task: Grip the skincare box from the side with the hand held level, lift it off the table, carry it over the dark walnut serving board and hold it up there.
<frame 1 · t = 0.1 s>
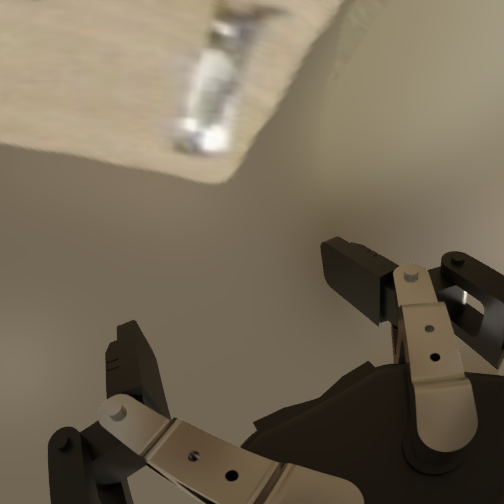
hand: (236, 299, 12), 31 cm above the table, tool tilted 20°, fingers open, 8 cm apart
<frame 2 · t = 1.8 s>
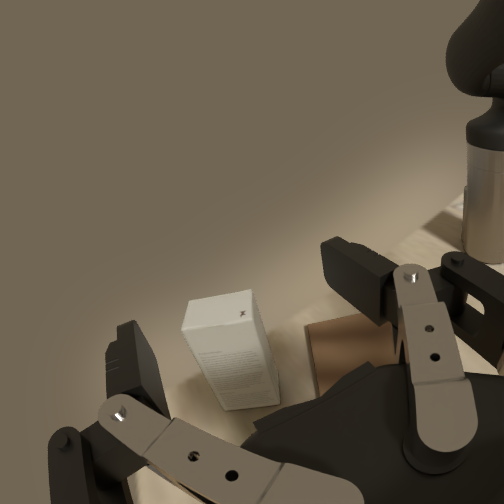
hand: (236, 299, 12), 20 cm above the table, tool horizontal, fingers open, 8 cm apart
walnut board: (375, 377, 29), on the table
skincare box: (251, 394, 31), on the table
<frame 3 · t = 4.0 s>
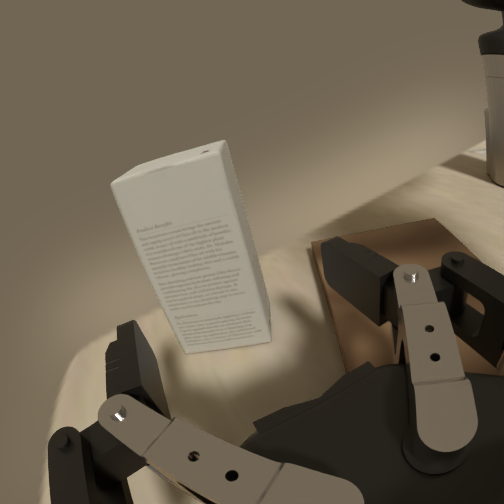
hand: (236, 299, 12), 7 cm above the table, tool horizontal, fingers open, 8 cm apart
walnut board: (417, 301, 19), on the table
skincare box: (229, 331, 22), on the table
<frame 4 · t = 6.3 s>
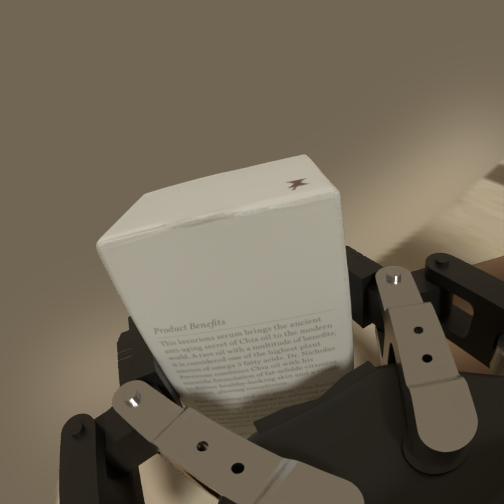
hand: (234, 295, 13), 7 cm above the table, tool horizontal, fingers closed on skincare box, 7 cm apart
skincare box: (286, 427, 14), on the table, touching gripper
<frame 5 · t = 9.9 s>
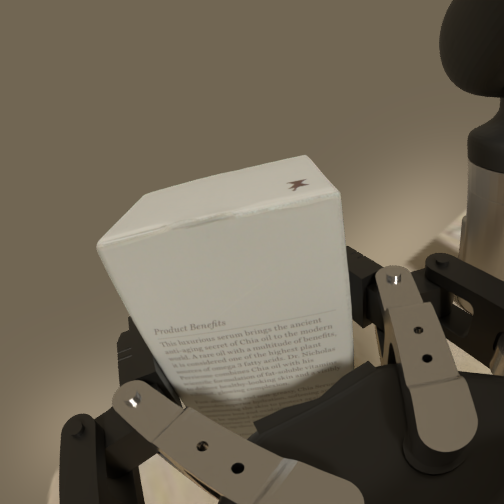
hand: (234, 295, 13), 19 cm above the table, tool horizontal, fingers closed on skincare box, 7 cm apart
skincare box: (286, 427, 14), point 12 cm above the table, touching gripper
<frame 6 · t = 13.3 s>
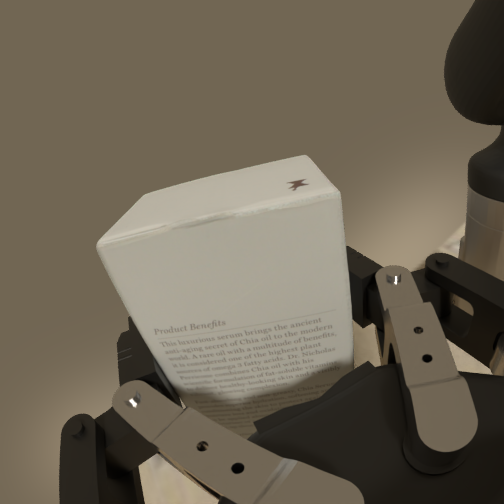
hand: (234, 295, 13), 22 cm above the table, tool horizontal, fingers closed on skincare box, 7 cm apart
skincare box: (286, 427, 14), point 14 cm above the table, touching gripper
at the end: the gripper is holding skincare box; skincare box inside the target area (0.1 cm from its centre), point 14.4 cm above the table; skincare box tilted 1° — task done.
